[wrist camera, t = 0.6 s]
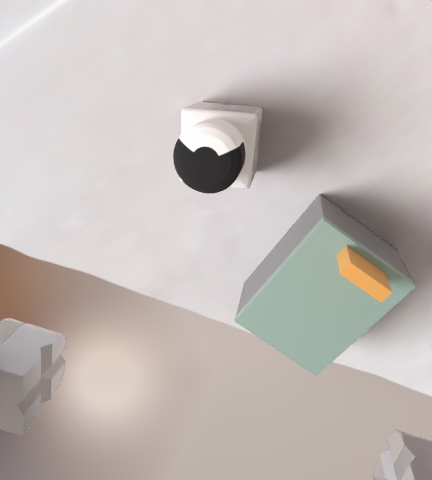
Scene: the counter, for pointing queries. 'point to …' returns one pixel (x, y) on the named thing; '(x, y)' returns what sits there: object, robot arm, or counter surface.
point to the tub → (299, 232)
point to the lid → (323, 297)
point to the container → (218, 146)
